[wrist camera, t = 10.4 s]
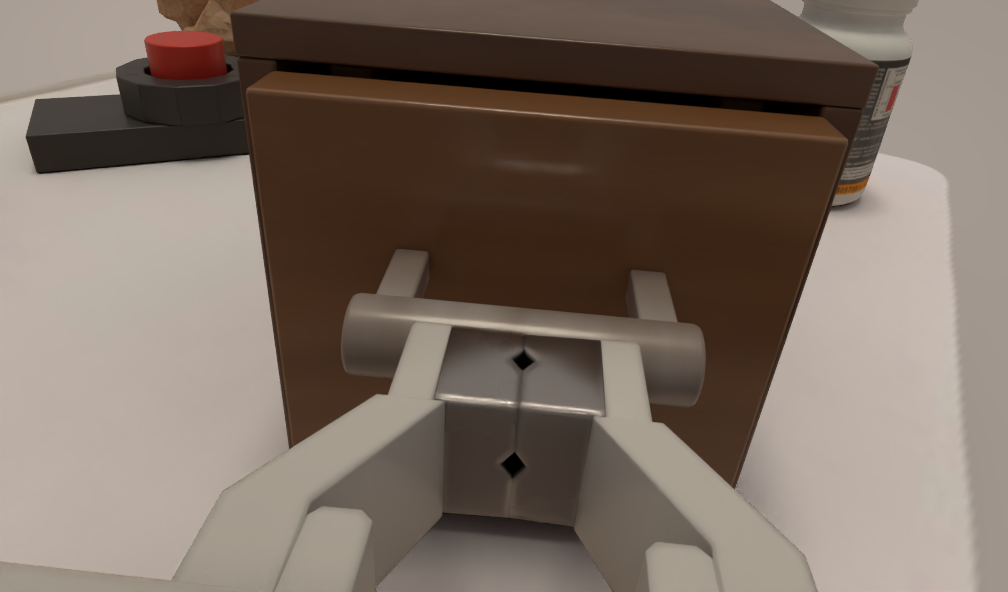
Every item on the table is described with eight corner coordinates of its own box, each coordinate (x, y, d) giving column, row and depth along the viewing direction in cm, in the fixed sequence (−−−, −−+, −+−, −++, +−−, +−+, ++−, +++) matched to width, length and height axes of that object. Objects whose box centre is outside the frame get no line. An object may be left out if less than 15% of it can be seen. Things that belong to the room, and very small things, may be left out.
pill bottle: (876, 189, 35) (955, -23, 30) (837, 221, 31) (920, -15, 26) (769, 158, 38) (824, -40, 33) (722, 184, 34) (776, -35, 29)
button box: (35, 176, 30) (10, 95, 28) (45, 130, 35) (24, 59, 33) (276, 153, 34) (268, 82, 32) (255, 115, 39) (247, 51, 37)
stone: (419, 73, 43) (444, 81, 58) (411, -107, 41) (440, -52, 55) (136, 77, 44) (231, 83, 58) (109, -101, 41) (216, -48, 56)
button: (153, 87, 32) (145, 47, 31) (149, 68, 34) (142, 31, 33) (232, 82, 33) (226, 44, 32) (222, 65, 35) (217, 29, 35)
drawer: (749, 657, 12) (940, 220, 8) (246, 604, 13) (148, 150, 8) (663, 301, 23) (724, 23, 18) (388, 275, 23) (380, -5, 18)
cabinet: (726, 516, 16) (881, 65, 11) (291, 473, 17) (227, 11, 11) (668, 290, 25) (737, -21, 20) (385, 264, 25) (376, -49, 20)
